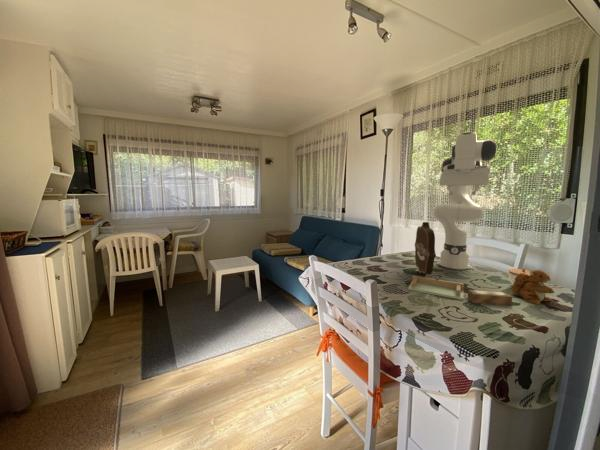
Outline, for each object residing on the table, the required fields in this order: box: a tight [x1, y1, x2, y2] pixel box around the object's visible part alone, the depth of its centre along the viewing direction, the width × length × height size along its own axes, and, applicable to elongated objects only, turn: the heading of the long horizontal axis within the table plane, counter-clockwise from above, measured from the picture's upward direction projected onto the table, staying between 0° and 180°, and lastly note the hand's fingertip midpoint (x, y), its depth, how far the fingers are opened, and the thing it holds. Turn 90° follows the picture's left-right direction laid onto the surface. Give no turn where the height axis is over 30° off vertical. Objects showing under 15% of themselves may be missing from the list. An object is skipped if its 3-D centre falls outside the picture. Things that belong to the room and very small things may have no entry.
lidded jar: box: [508, 268, 530, 285], centre depth 121 cm, size 11×11×9 cm
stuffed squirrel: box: [511, 269, 555, 306], centre depth 108 cm, size 10×14×13 cm
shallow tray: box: [407, 274, 465, 301], centre depth 117 cm, size 11×22×5 cm, turn 57°
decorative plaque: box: [414, 221, 437, 277], centre depth 137 cm, size 30×3×30 cm, turn 168°
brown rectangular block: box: [467, 289, 513, 306], centre depth 105 cm, size 14×5×4 cm, turn 79°
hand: (461, 194), depth 122 cm, fingers open, 8 cm apart
